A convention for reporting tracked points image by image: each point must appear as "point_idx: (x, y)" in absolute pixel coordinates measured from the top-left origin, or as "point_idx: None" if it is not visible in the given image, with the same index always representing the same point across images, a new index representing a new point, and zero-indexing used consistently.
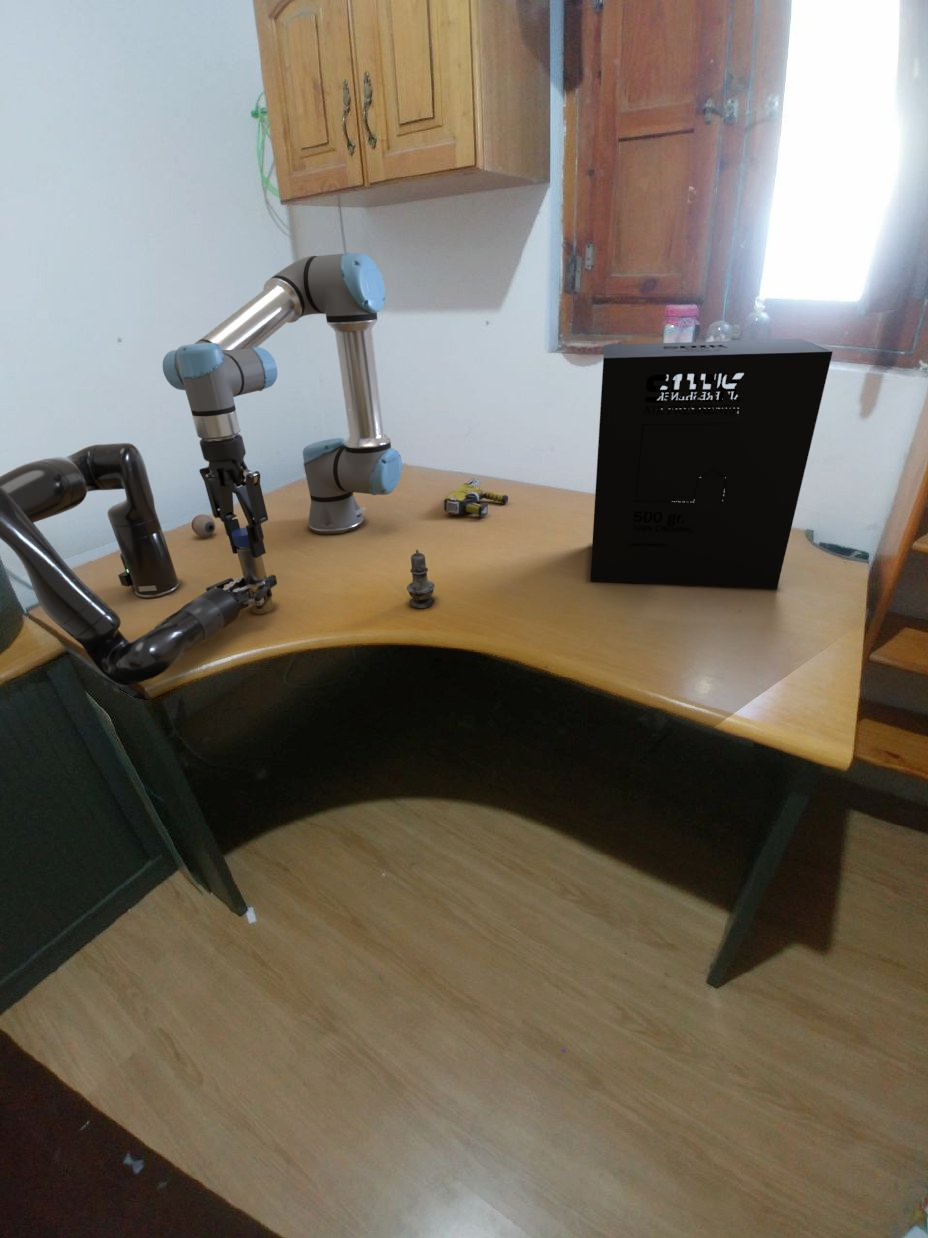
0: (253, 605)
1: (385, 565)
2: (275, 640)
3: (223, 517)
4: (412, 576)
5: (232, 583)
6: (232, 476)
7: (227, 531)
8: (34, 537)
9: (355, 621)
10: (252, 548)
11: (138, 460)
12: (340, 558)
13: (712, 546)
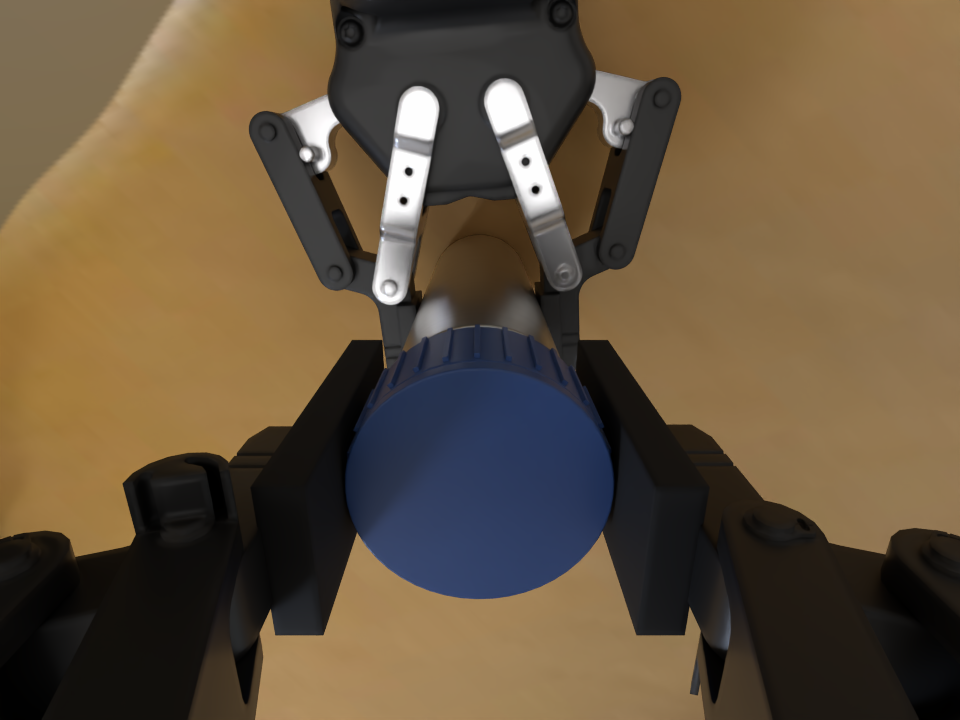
0: (480, 240)
1: (290, 703)
2: (208, 76)
3: (757, 548)
4: None
5: (533, 193)
6: None
7: (662, 428)
8: None
9: (44, 346)
10: (350, 368)
11: None
12: (487, 696)
13: None
